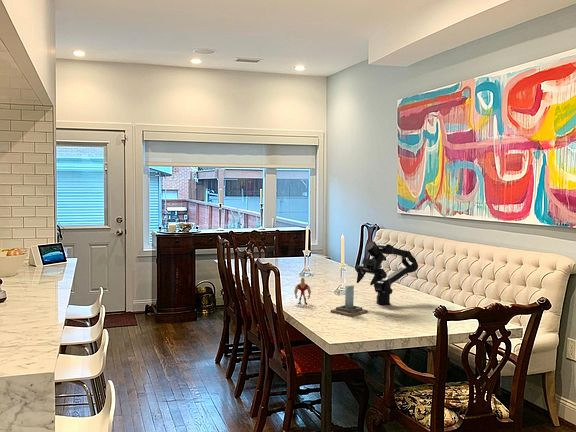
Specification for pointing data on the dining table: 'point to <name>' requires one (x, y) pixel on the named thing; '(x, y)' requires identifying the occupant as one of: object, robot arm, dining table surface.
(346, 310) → the cradle board
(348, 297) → the pale blue cylinder
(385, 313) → the dining table surface
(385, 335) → the dining table surface
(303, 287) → the action figure
